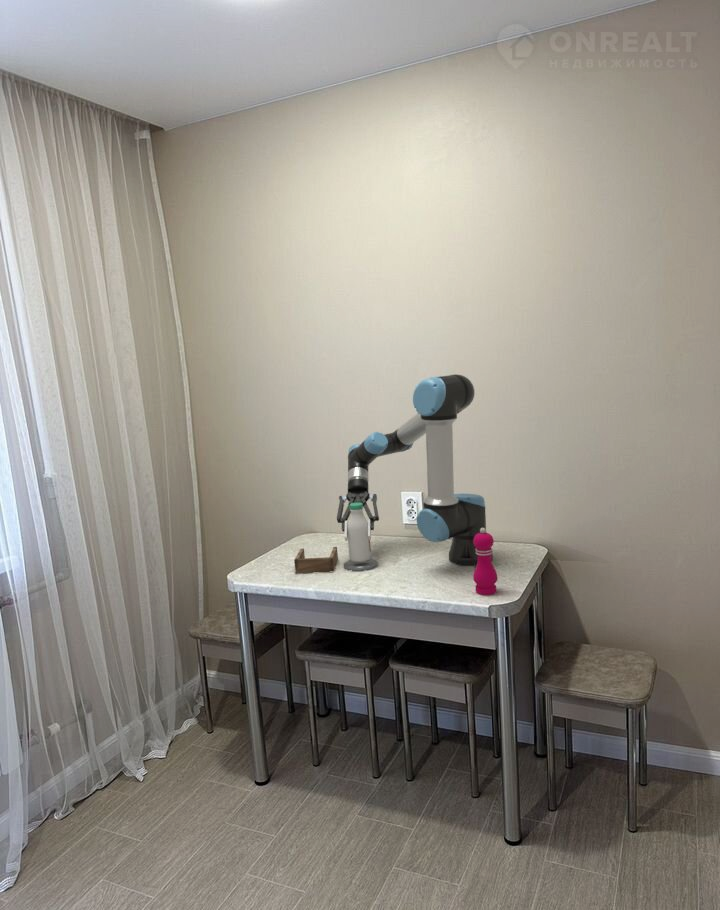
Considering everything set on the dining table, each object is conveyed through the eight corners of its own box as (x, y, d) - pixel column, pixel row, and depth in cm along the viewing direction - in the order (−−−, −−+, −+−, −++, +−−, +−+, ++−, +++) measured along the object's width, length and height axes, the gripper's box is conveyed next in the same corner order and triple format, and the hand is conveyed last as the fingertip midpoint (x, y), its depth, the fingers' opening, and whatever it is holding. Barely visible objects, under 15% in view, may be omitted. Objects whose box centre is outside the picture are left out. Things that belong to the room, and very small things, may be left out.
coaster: (383, 566, 245) (383, 563, 245) (352, 573, 240) (352, 570, 240) (368, 558, 256) (368, 555, 256) (338, 564, 251) (338, 562, 251)
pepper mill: (471, 595, 212) (468, 530, 209) (476, 586, 218) (473, 524, 215) (495, 596, 209) (492, 531, 206) (500, 588, 216) (497, 524, 213)
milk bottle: (369, 562, 243) (364, 506, 240) (347, 562, 245) (342, 506, 241) (373, 555, 250) (369, 500, 247) (352, 555, 252) (347, 501, 249)
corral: (333, 572, 243) (332, 558, 243) (295, 573, 245) (294, 560, 244) (338, 559, 257) (336, 546, 256) (301, 561, 258) (300, 548, 257)
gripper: (386, 486, 258) (388, 542, 245) (332, 490, 260) (330, 545, 247) (385, 475, 252) (386, 531, 239) (328, 478, 254) (327, 534, 241)
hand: (357, 538), depth 243 cm, fingers closed on milk bottle, 7 cm apart
